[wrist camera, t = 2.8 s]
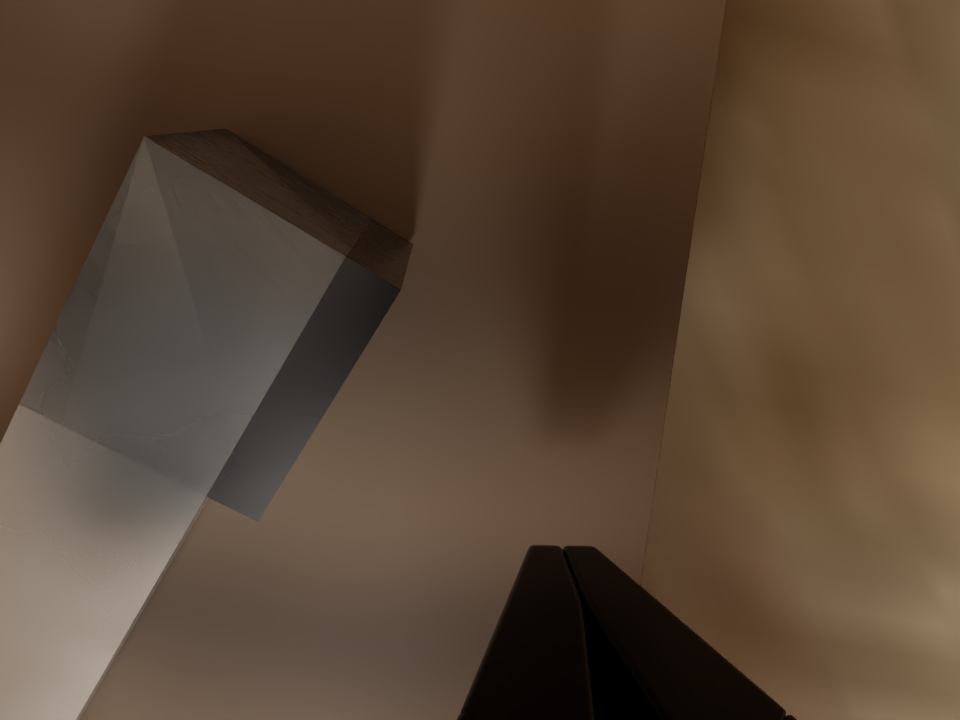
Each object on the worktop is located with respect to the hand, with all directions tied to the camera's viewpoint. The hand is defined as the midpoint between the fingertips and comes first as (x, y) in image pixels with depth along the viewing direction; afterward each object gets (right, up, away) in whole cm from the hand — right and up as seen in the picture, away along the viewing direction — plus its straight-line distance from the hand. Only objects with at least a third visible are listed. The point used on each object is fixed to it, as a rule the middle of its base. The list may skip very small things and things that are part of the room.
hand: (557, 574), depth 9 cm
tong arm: (-7, -1, +1) cm, 7 cm away
